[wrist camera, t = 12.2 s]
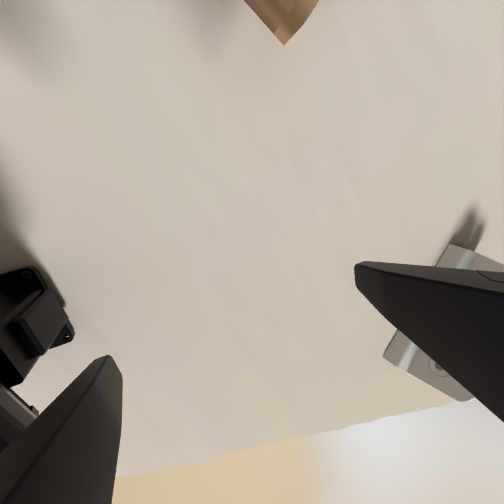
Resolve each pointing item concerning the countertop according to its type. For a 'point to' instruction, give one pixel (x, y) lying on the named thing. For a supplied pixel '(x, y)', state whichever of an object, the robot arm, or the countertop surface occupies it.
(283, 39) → the slot holder
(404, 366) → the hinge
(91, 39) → the countertop surface
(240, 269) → the countertop surface
